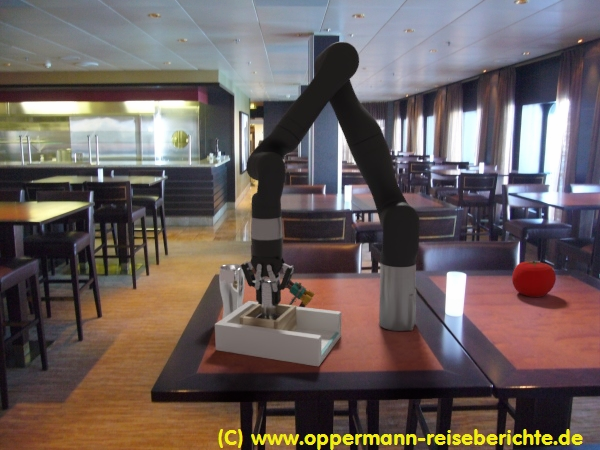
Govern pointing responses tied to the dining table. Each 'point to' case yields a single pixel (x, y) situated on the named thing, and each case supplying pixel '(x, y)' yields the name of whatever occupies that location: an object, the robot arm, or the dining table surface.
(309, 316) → the bay
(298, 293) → the binoculars
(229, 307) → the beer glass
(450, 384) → the dining table surface
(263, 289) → the handle peg
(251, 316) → the box
